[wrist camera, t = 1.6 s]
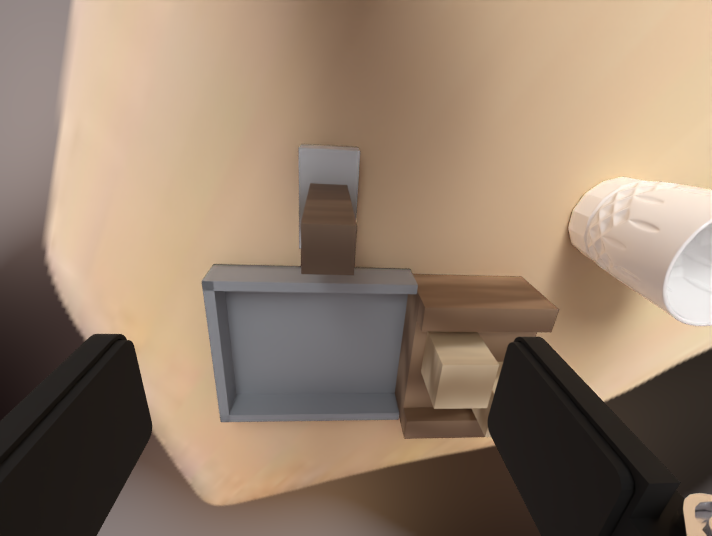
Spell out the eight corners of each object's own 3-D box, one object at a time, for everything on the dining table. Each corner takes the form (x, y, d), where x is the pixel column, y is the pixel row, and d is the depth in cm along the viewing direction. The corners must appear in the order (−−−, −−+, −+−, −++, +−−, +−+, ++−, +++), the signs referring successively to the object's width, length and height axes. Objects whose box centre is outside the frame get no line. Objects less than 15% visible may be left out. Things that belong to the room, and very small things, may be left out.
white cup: (605, 151, 27) (746, 174, 18) (675, 194, 29) (835, 235, 20) (541, 240, 30) (635, 299, 21) (609, 274, 31) (723, 342, 22)
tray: (213, 264, 28) (201, 280, 26) (409, 268, 30) (418, 285, 27) (229, 396, 34) (220, 422, 31) (393, 395, 36) (398, 419, 33)
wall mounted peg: (301, 143, 25) (282, 170, 15) (357, 146, 25) (377, 174, 15) (301, 237, 28) (286, 314, 18) (352, 238, 28) (366, 315, 18)
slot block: (409, 274, 30) (425, 307, 25) (521, 276, 31) (559, 309, 26) (393, 391, 35) (404, 438, 30) (489, 390, 36) (515, 436, 31)
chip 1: (427, 331, 28) (442, 364, 24) (477, 331, 28) (499, 364, 24) (420, 371, 29) (434, 408, 26) (467, 371, 30) (487, 408, 26)
